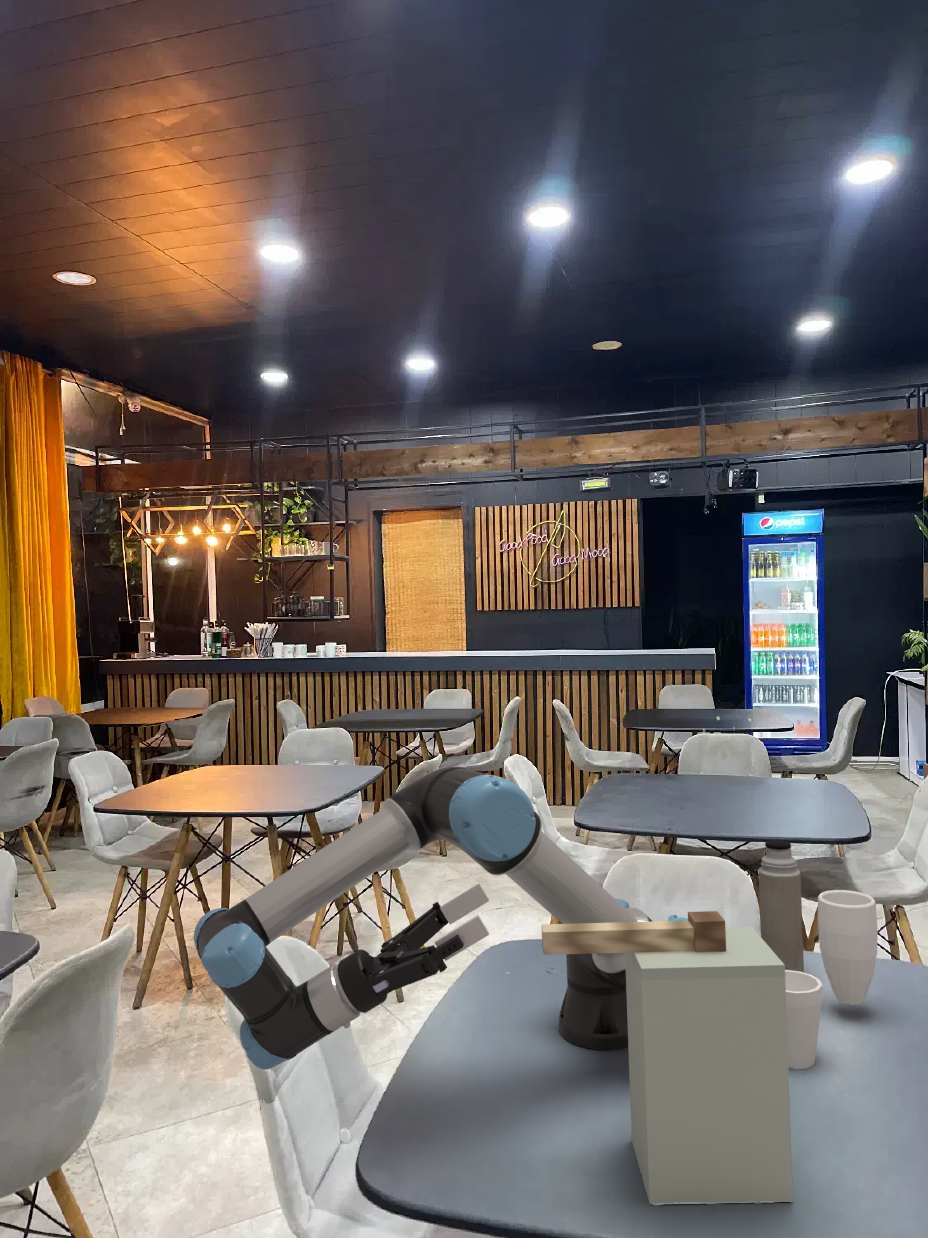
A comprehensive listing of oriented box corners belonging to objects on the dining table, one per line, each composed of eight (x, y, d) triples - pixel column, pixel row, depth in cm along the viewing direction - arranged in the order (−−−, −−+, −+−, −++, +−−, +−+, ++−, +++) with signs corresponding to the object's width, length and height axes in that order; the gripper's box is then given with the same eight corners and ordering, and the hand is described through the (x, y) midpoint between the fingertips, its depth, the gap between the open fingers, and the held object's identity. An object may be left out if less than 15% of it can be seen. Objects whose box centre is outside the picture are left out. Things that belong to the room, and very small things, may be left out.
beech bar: (718, 940, 122) (717, 911, 122) (726, 951, 118) (725, 921, 118) (542, 945, 122) (541, 916, 122) (544, 956, 118) (542, 926, 118)
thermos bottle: (796, 973, 183) (791, 836, 183) (810, 989, 175) (805, 846, 175) (757, 974, 183) (752, 838, 183) (769, 990, 175) (764, 848, 175)
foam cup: (829, 1076, 143) (826, 994, 143) (768, 1072, 144) (766, 991, 144) (818, 1047, 152) (815, 971, 152) (761, 1044, 154) (758, 968, 154)
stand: (649, 1205, 113) (641, 968, 113) (631, 1141, 127) (624, 930, 127) (793, 1203, 112) (784, 965, 112) (759, 1138, 126) (751, 926, 126)
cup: (852, 1033, 156) (847, 910, 156) (807, 1010, 166) (803, 894, 166) (895, 1020, 161) (890, 901, 161) (849, 999, 170) (845, 886, 170)
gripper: (375, 976, 133) (497, 902, 132) (350, 1057, 108) (499, 967, 107) (349, 932, 133) (471, 859, 133) (317, 1004, 108) (467, 913, 108)
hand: (484, 907), depth 120 cm, fingers open, 13 cm apart
